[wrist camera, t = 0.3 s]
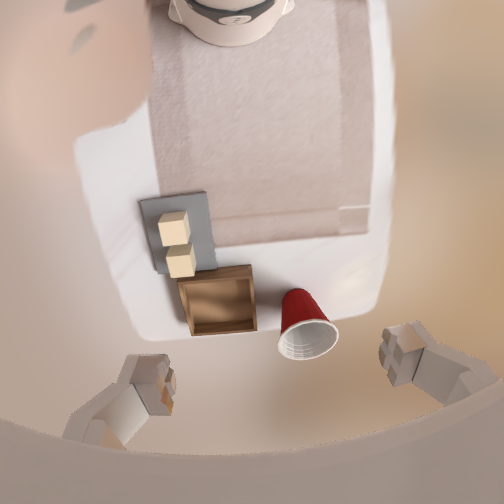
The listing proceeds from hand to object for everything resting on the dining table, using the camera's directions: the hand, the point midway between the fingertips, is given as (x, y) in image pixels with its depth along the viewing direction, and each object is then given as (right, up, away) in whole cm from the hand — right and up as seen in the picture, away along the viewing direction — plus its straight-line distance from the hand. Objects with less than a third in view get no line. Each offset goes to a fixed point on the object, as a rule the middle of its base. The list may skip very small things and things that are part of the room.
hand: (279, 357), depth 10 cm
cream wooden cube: (-13, +9, +37) cm, 40 cm away
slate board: (-13, +7, +39) cm, 42 cm away
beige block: (-13, +3, +40) cm, 42 cm away
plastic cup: (+8, -6, +48) cm, 49 cm away
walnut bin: (-7, -5, +46) cm, 47 cm away
